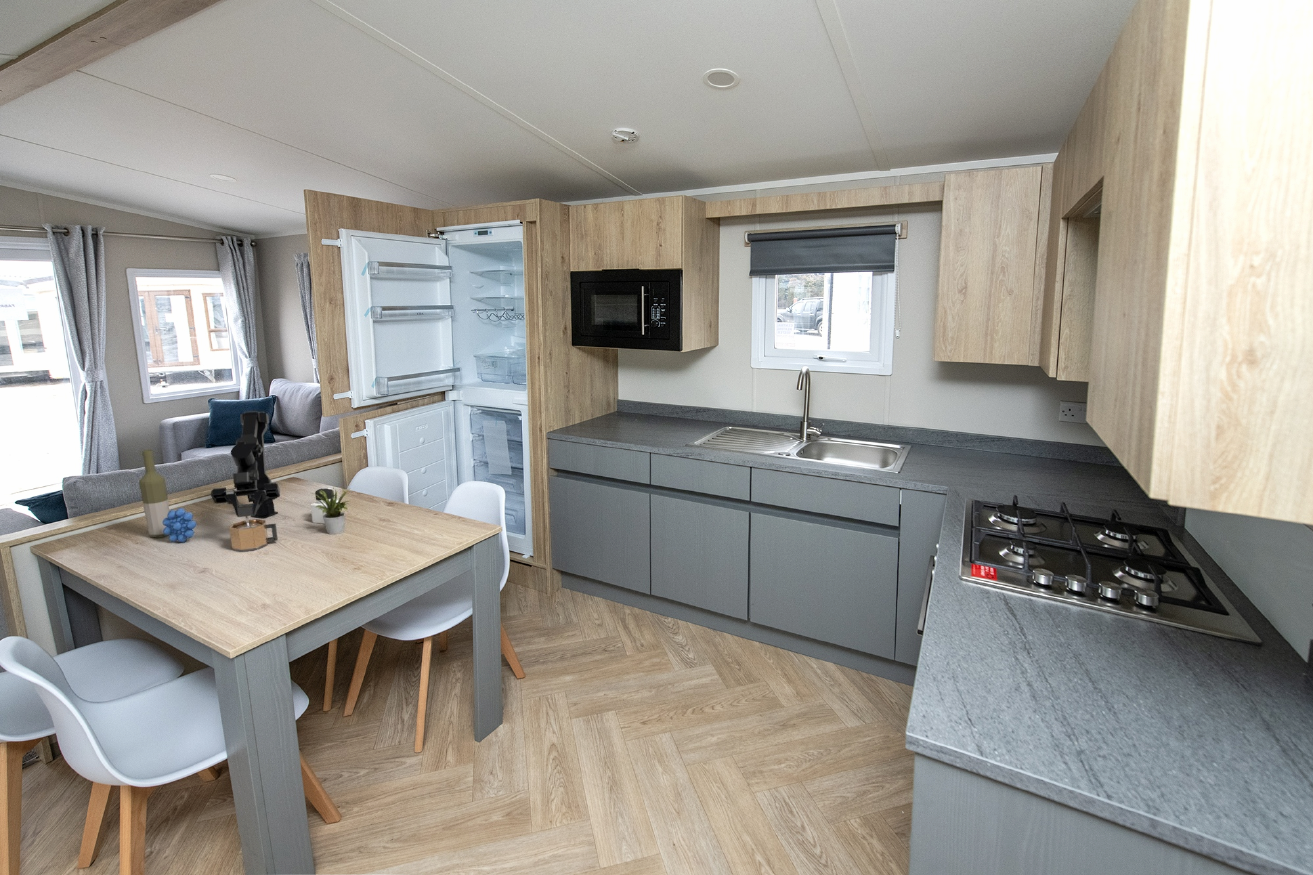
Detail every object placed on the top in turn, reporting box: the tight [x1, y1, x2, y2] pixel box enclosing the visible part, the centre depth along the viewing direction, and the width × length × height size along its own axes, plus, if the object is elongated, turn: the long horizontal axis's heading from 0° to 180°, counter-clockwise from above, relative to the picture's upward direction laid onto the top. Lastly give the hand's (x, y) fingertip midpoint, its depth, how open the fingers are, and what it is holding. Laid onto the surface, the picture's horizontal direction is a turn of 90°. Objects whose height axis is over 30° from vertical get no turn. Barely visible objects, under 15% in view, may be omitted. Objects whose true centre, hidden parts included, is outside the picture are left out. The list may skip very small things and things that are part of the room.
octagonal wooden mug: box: [229, 518, 279, 553], centre depth 213 cm, size 10×13×8 cm
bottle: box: [138, 449, 170, 538], centre depth 219 cm, size 7×7×30 cm
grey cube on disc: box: [236, 502, 261, 529], centre depth 211 cm, size 7×7×8 cm
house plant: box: [311, 487, 351, 535], centre depth 224 cm, size 14×14×16 cm
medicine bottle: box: [310, 487, 342, 525], centre depth 237 cm, size 7×7×12 cm
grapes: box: [162, 507, 197, 544], centre depth 216 cm, size 12×7×12 cm, turn 85°
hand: (245, 515), depth 209 cm, fingers closed on grey cube on disc, 4 cm apart
